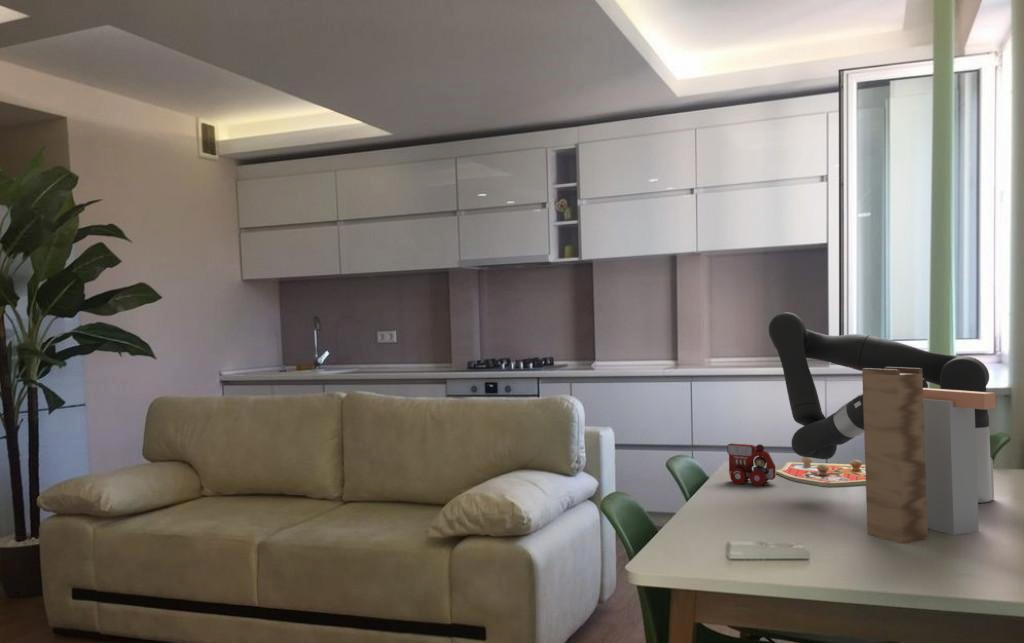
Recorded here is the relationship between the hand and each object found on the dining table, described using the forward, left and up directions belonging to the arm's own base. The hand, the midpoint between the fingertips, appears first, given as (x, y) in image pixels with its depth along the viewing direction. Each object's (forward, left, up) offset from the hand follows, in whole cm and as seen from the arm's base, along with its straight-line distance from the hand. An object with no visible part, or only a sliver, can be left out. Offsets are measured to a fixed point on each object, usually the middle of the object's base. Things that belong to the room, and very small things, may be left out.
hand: (910, 383), depth 164 cm
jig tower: (+14, +7, -29) cm, 33 cm away
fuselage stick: (0, +7, -4) cm, 8 cm away
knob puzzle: (-20, -44, -30) cm, 57 cm away
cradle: (0, +7, -29) cm, 30 cm away
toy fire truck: (+4, -48, -29) cm, 56 cm away
